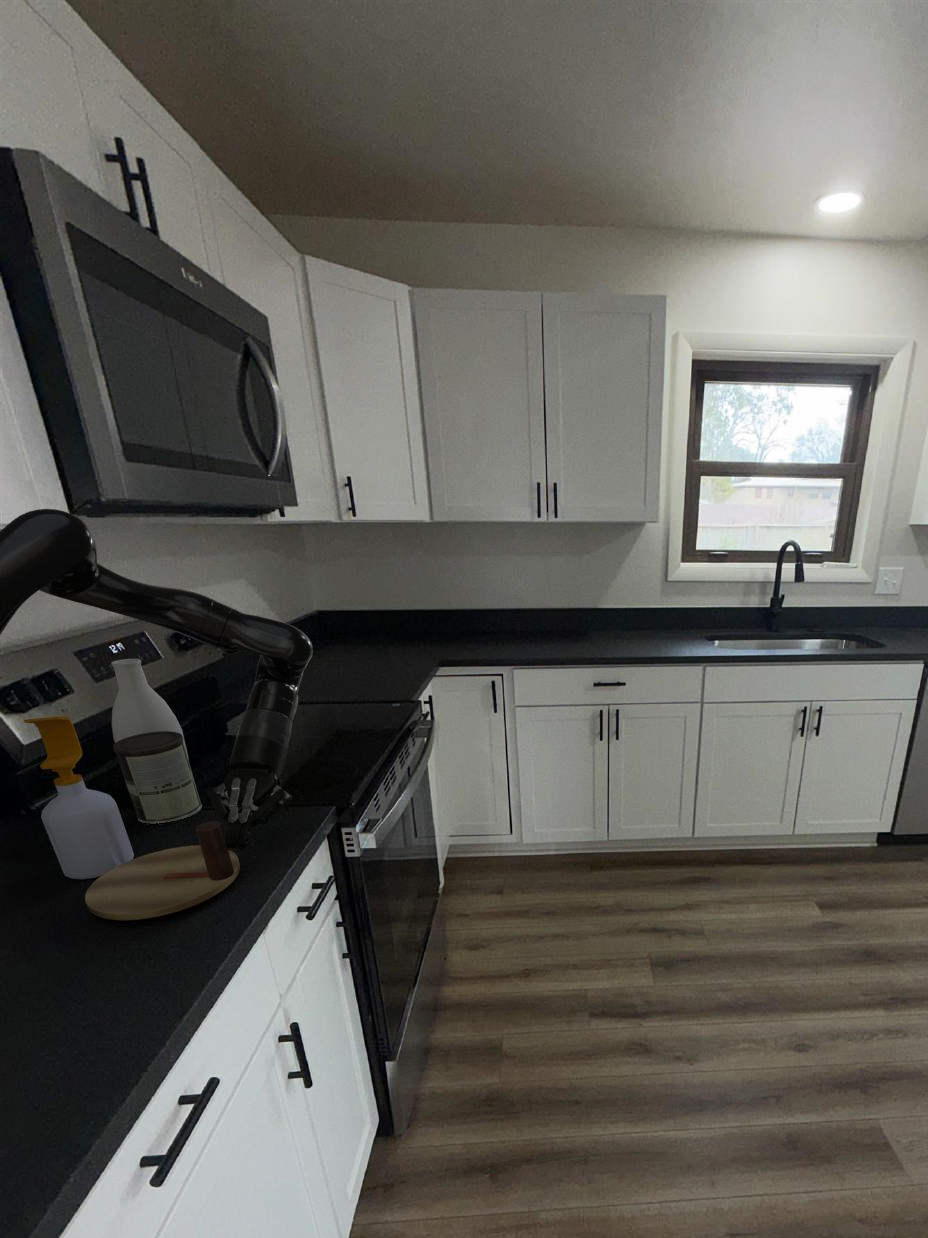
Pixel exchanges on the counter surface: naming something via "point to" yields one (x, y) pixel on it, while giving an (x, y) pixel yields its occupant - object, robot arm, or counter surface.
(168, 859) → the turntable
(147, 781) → the coffee can
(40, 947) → the counter surface
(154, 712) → the bottle
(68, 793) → the soap bottle
